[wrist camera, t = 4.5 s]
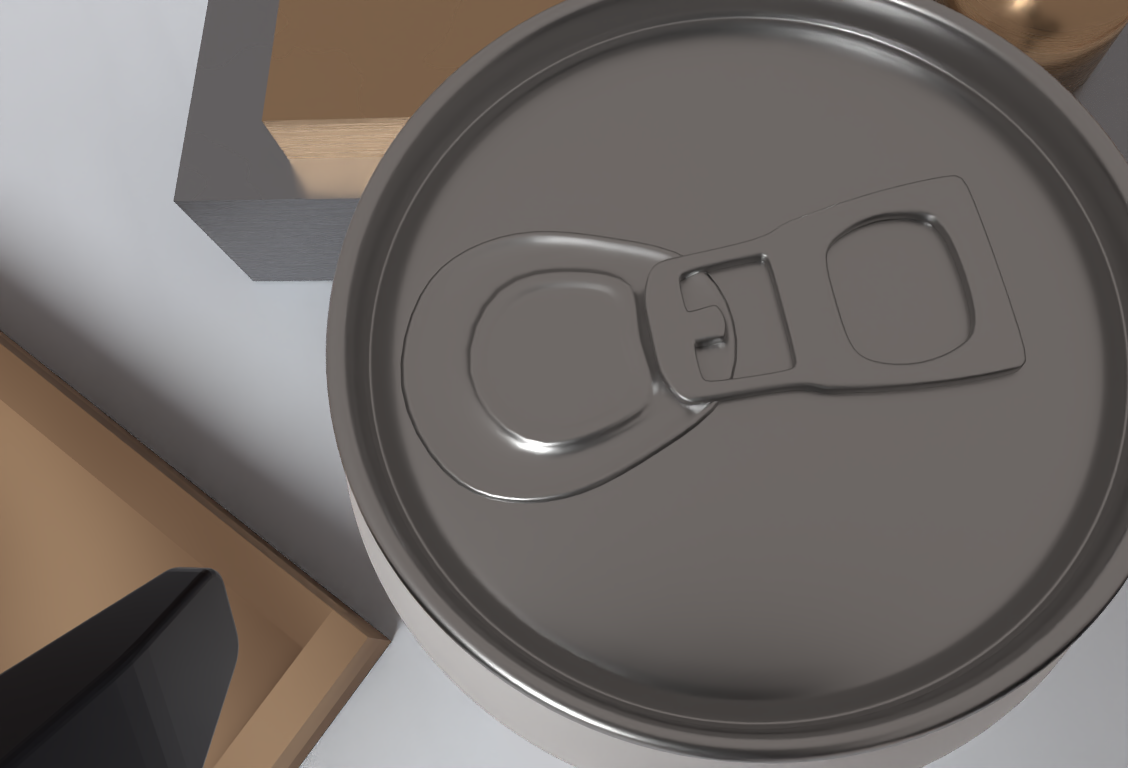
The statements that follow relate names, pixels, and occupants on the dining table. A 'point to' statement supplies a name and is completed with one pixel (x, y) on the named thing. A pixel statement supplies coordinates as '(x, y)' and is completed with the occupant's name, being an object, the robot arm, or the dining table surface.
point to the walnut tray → (159, 566)
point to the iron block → (414, 71)
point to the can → (741, 380)
